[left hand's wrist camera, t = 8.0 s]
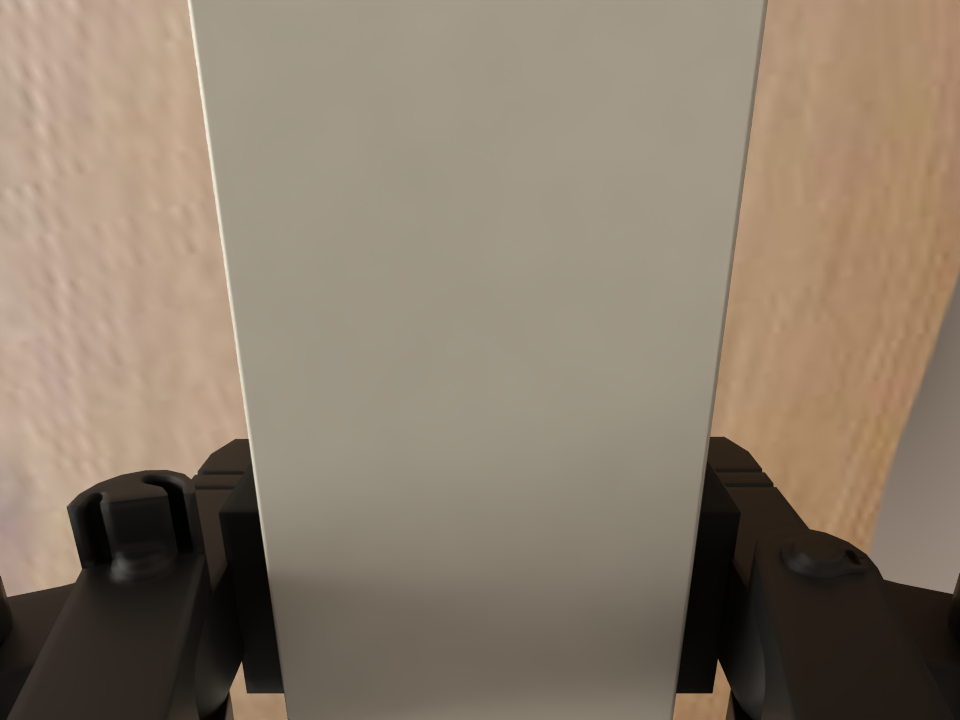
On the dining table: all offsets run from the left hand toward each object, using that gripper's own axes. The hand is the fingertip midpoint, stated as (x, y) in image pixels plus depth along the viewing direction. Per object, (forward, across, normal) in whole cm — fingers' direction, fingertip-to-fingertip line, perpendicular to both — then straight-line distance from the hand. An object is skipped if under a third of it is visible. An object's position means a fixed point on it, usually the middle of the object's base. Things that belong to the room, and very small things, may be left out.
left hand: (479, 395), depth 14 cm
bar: (+1, 0, -9) cm, 9 cm away
